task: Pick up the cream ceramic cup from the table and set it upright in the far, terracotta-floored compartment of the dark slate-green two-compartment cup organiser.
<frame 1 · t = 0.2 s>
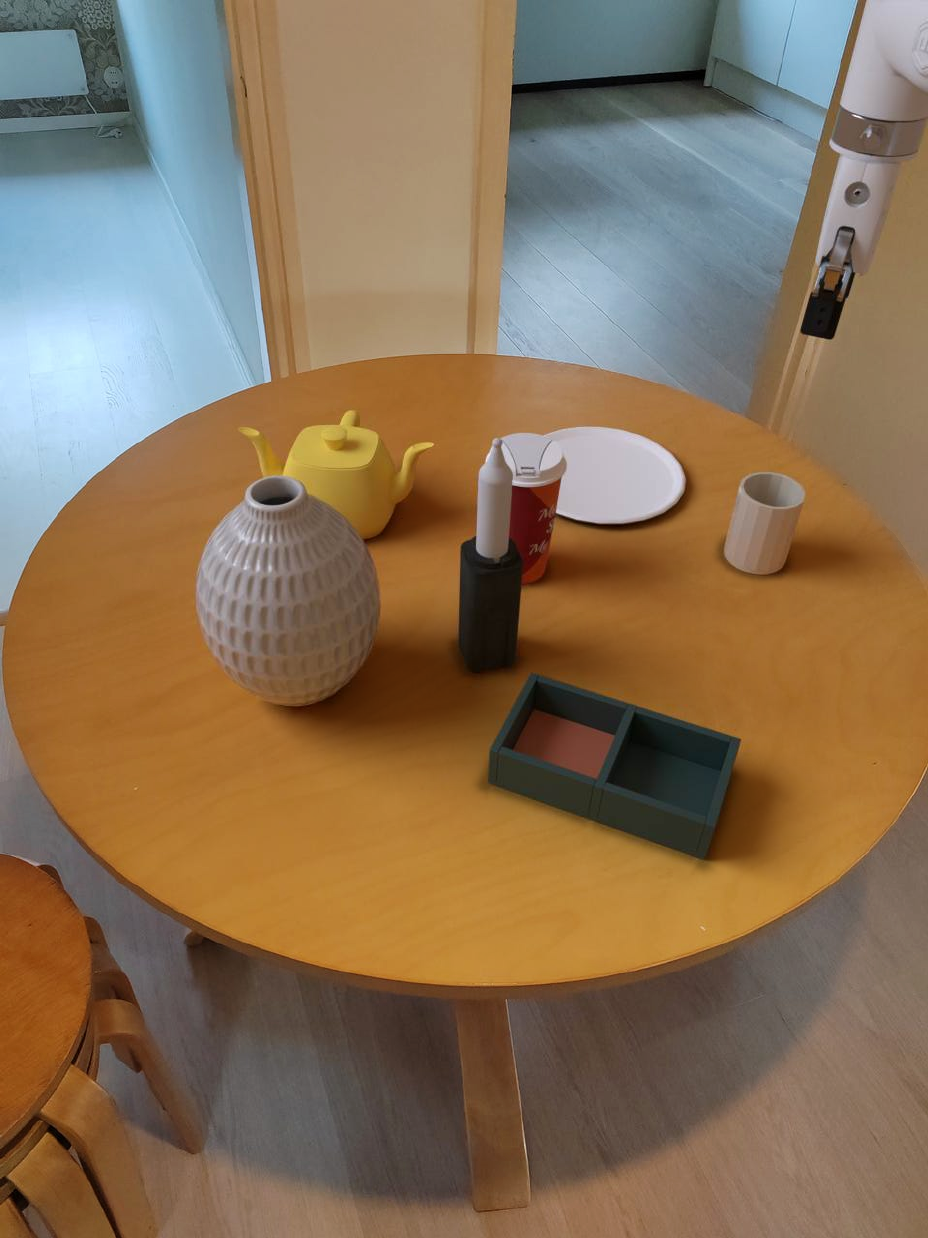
hand: (824, 314, 98), 26 cm above the table, tool pointing down, fingers open, 9 cm apart
coffee cup: (518, 567, 109), on the table
teapot: (343, 505, 117), on the table
vase: (300, 681, 96), on the table
plate: (599, 480, 122), on the table
candle: (486, 654, 99), on the table
cup: (754, 555, 111), on the table
organiser: (610, 777, 87), on the table
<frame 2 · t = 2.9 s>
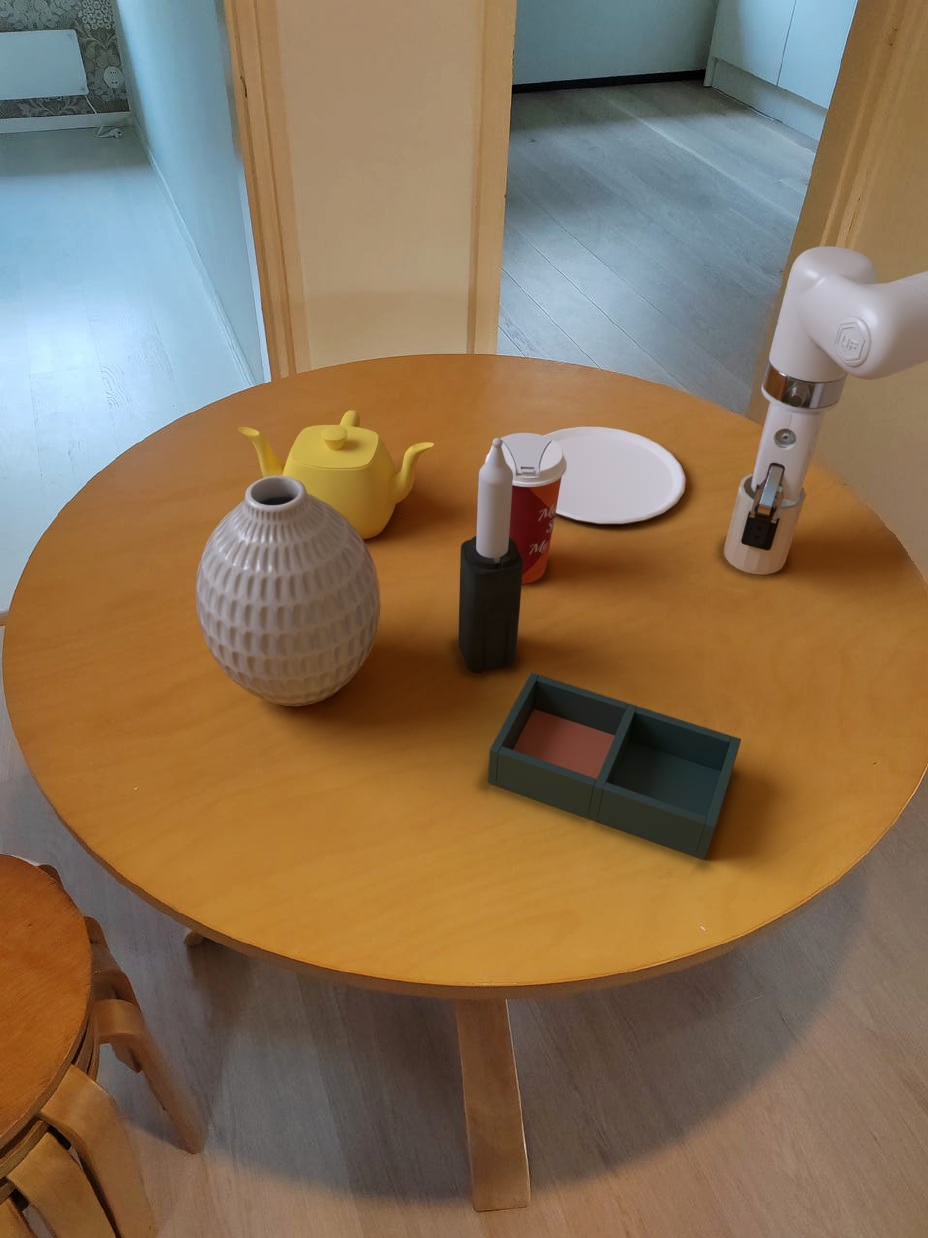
hand: (762, 525, 108), 4 cm above the table, tool pointing down, fingers closed on cup, 6 cm apart
cup: (754, 555, 111), on the table, touching gripper
everything else where it was.
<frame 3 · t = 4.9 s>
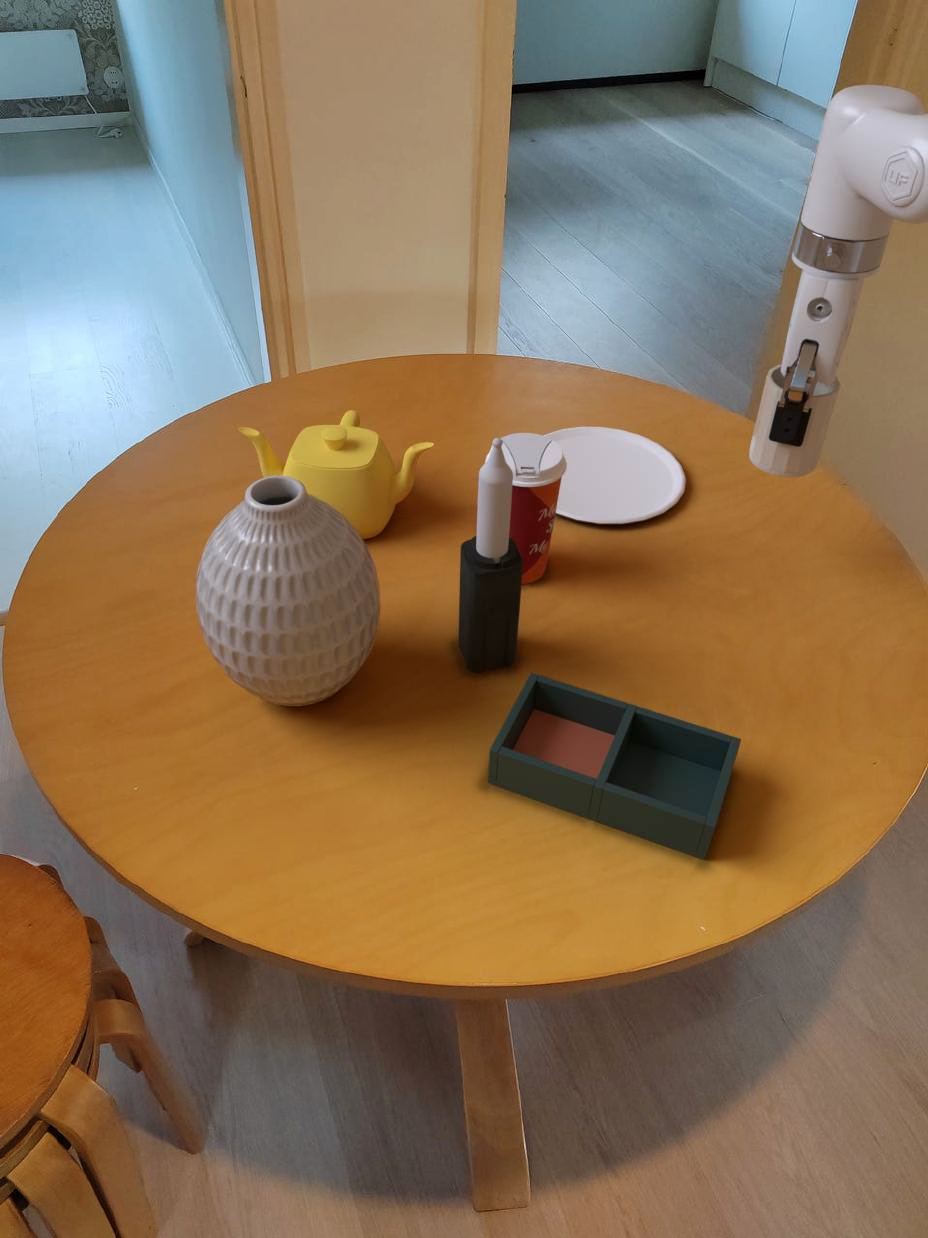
hand: (792, 422, 98), 18 cm above the table, tool pointing down, fingers closed on cup, 6 cm apart
cup: (782, 459, 101), point 14 cm above the table, touching gripper
everything else where it was.
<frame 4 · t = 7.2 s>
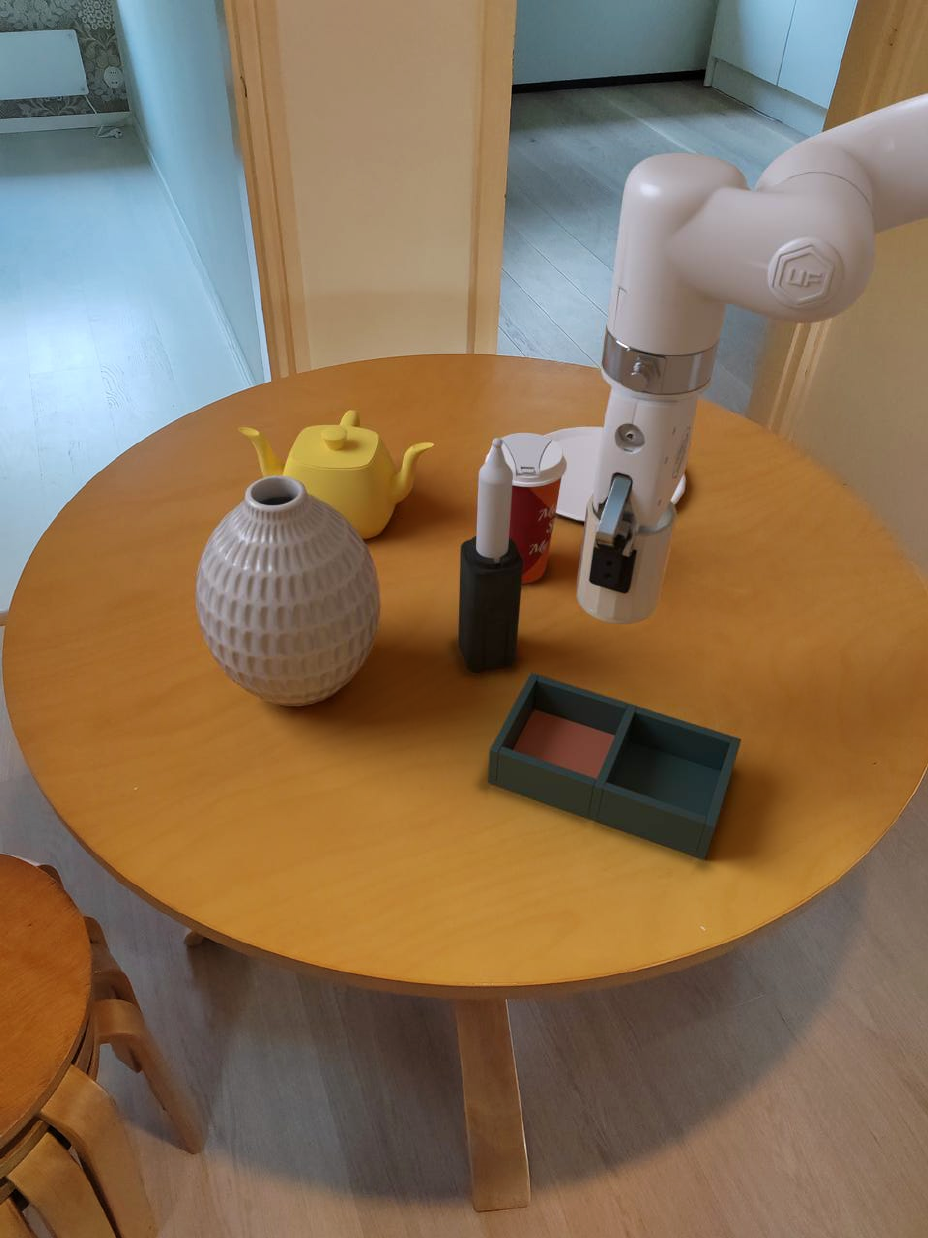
hand: (624, 557, 79), 20 cm above the table, tool pointing down, fingers closed on cup, 6 cm apart
cup: (617, 596, 82), point 16 cm above the table, touching gripper
everything else where it was.
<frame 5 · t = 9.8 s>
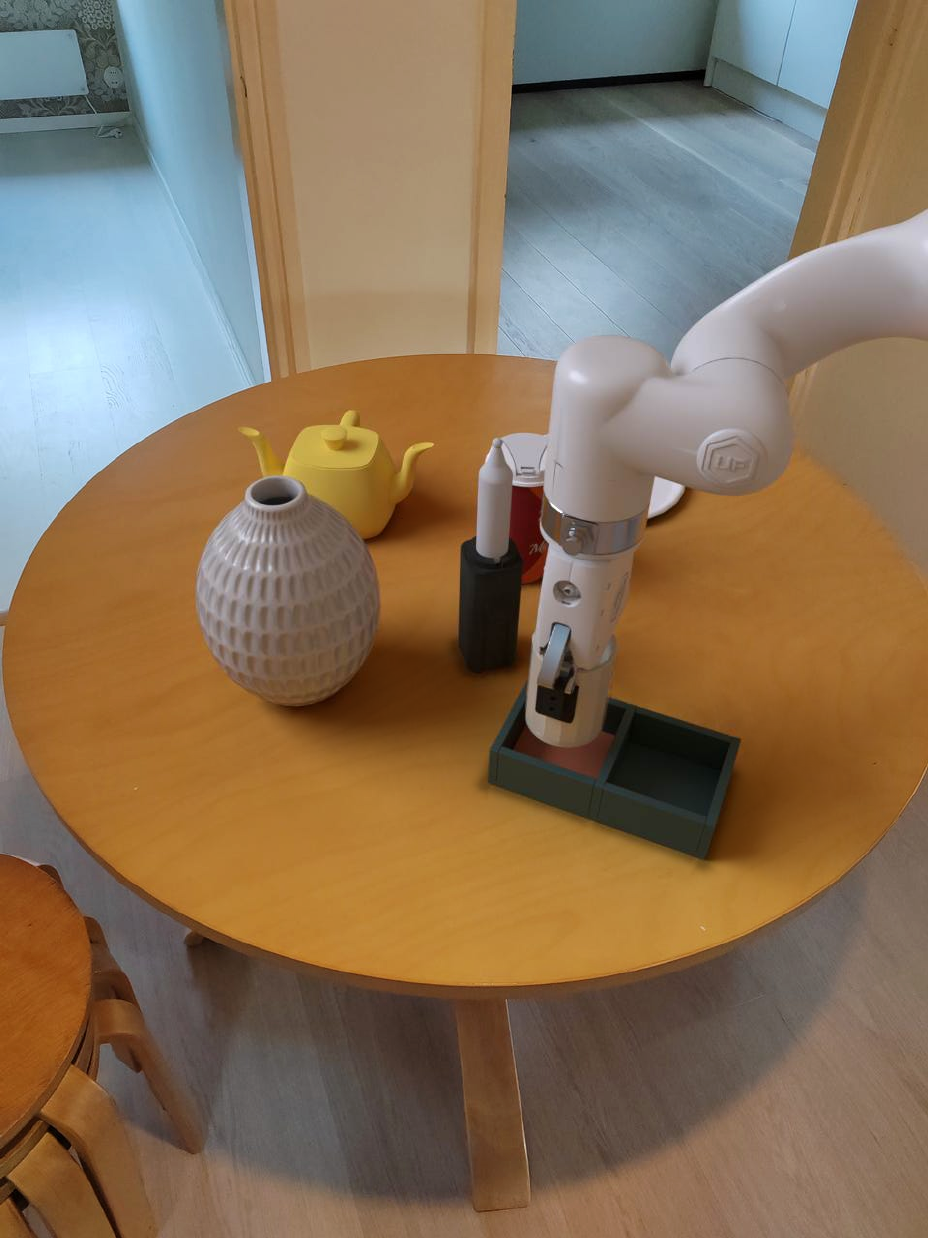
hand: (569, 683, 82), 10 cm above the table, tool pointing down, fingers closed on cup, 6 cm apart
cup: (564, 717, 85), point 6 cm above the table, touching gripper
everything else where it was.
when the fingers open (5 cm above the table, at t = 11.5 s): cup stays where it is, resting on organiser.
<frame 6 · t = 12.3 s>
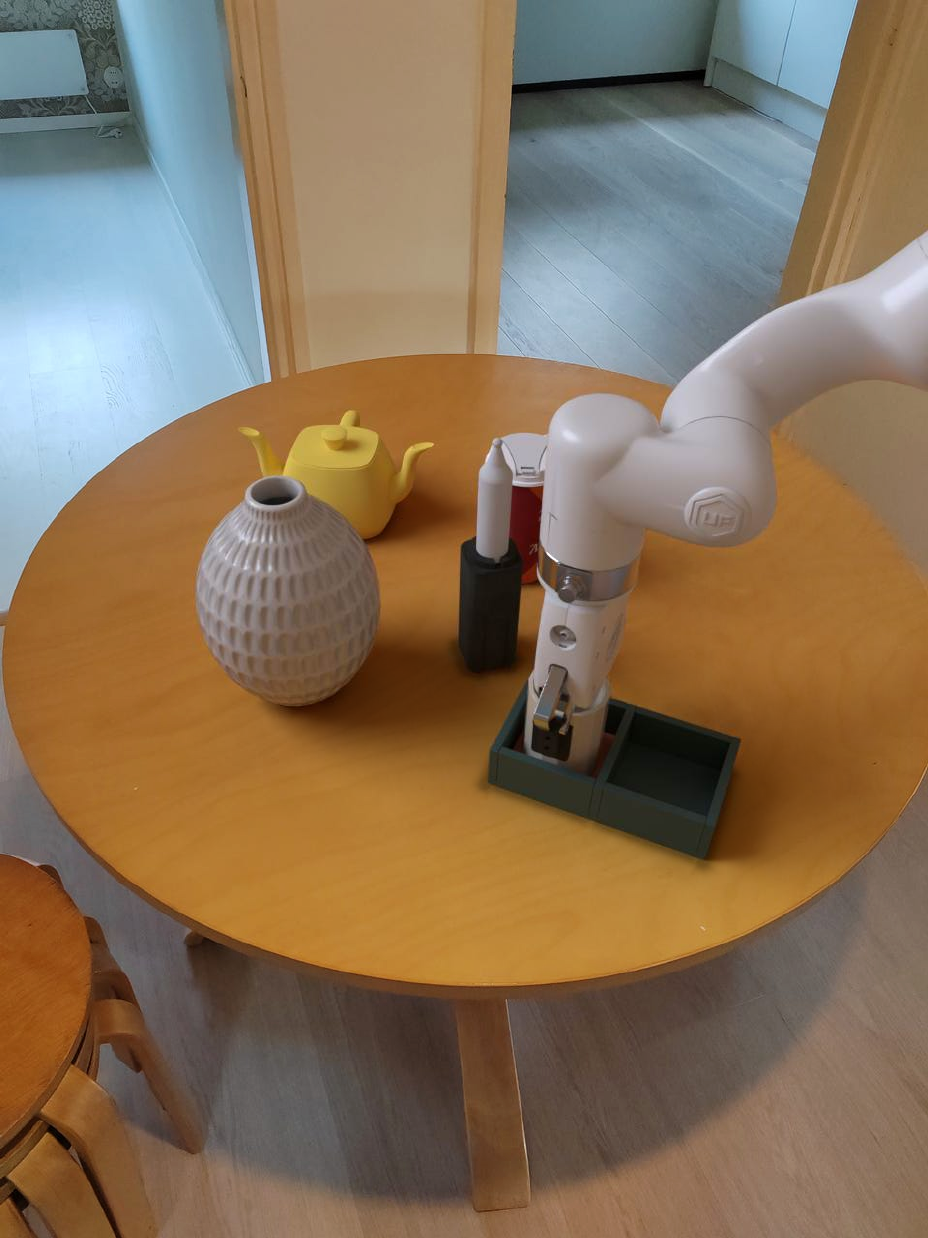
hand: (569, 713, 84), 6 cm above the table, tool pointing down, fingers open, 9 cm apart
cup: (560, 754, 88), point 1 cm above the table, touching organiser
everything else where it was.
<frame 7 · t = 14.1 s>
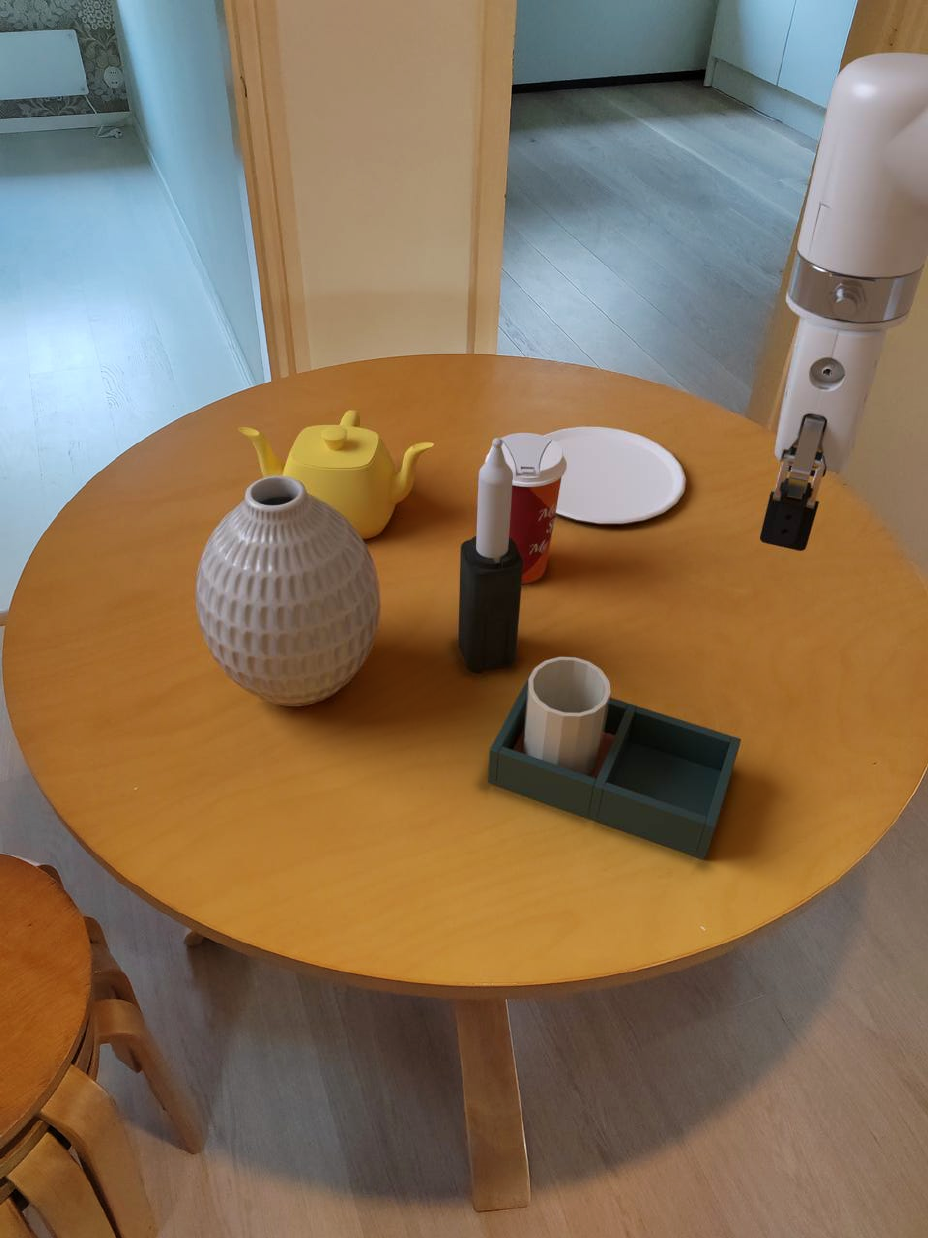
hand: (793, 506, 73), 27 cm above the table, tool pointing down, fingers open, 9 cm apart
nothing on the table moved.
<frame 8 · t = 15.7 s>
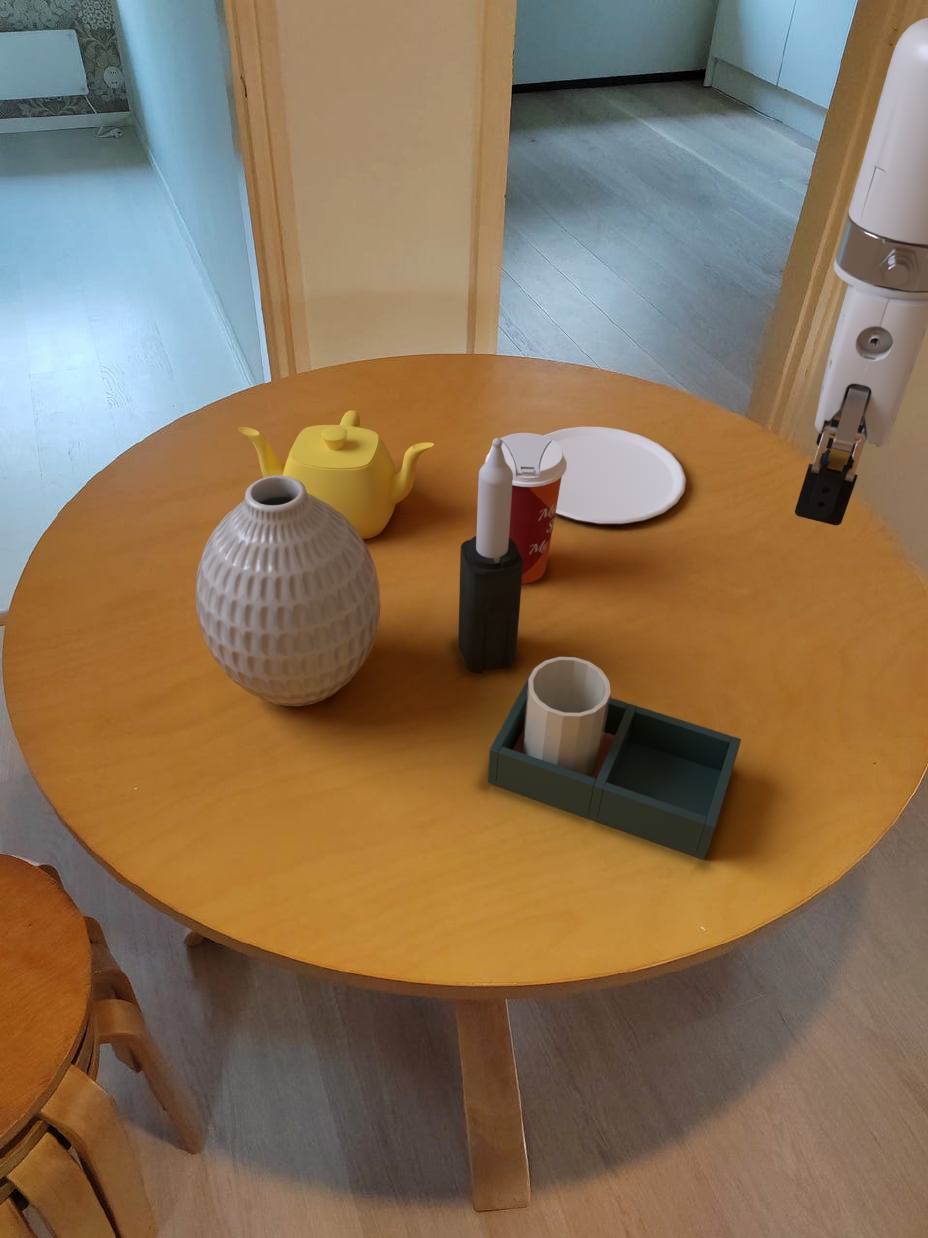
hand: (827, 482, 72), 28 cm above the table, tool pointing down, fingers open, 9 cm apart
nothing on the table moved.
at the end: cup 0.0 cm from the target spot in the organiser, point 0.8 cm above the organiser's base; cup tilted 0°; the gripper is holding nothing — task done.
